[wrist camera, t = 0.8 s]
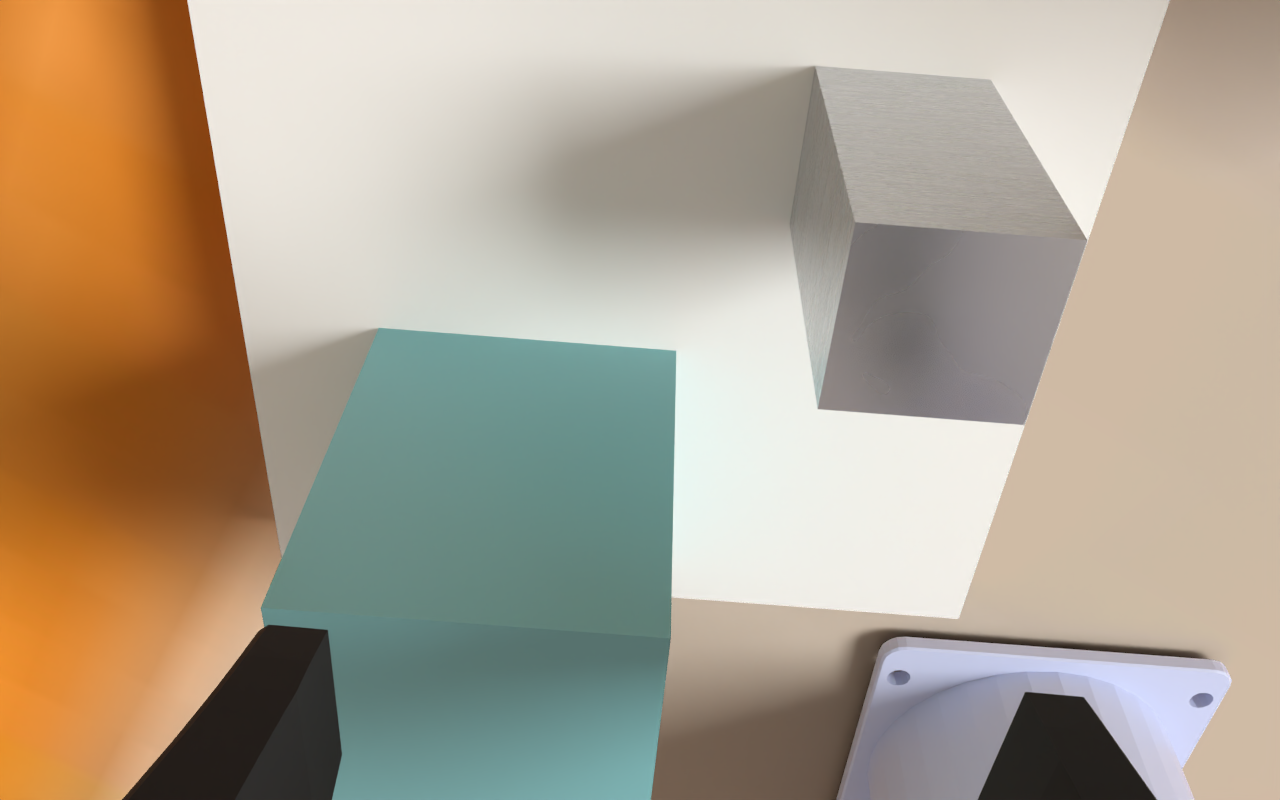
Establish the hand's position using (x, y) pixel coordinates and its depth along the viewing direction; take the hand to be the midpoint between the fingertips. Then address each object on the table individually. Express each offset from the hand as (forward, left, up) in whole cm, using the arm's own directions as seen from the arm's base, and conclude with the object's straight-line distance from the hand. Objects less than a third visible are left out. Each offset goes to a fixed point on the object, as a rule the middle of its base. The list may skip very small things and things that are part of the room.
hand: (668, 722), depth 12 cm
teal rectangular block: (-4, +3, -9) cm, 10 cm away
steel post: (+3, -3, -9) cm, 10 cm away
